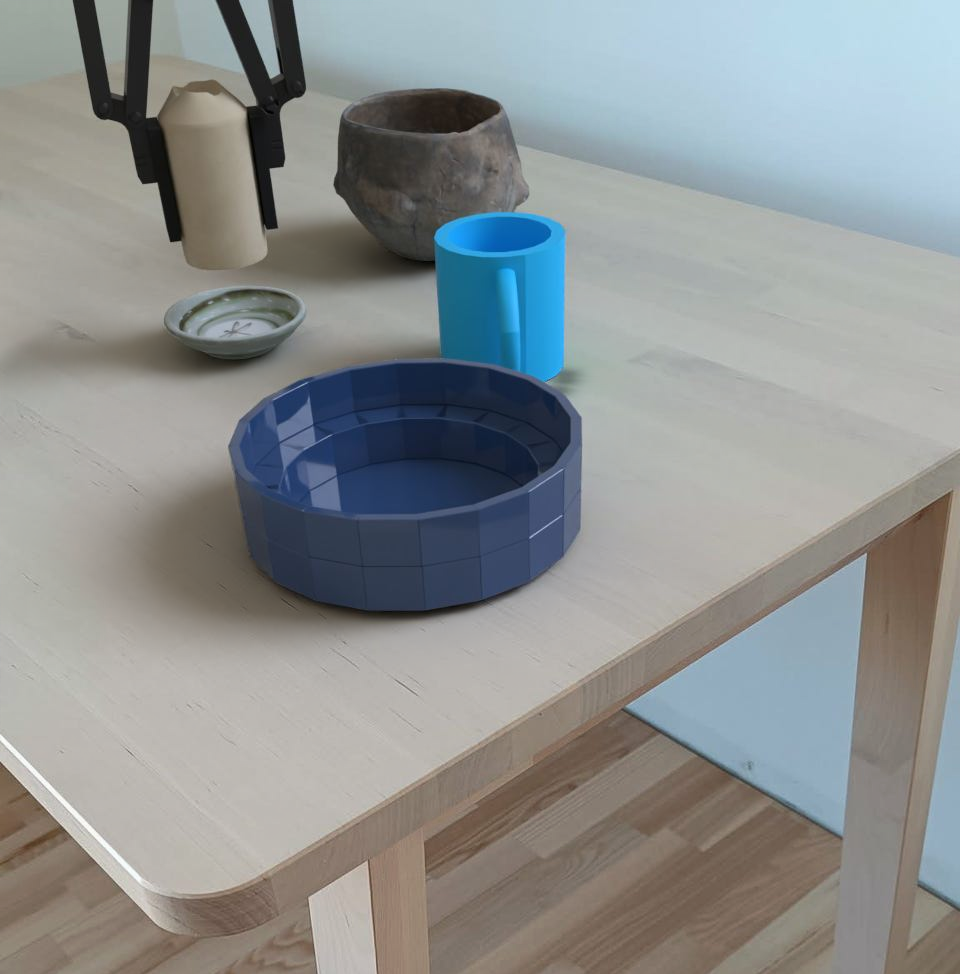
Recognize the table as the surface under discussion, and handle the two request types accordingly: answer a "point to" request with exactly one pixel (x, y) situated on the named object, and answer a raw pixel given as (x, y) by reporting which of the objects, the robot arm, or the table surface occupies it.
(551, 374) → the mug
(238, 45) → the robot arm
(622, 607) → the table surface
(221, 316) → the saucer
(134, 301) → the table surface
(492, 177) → the bowl
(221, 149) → the candle
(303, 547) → the serving bowl
